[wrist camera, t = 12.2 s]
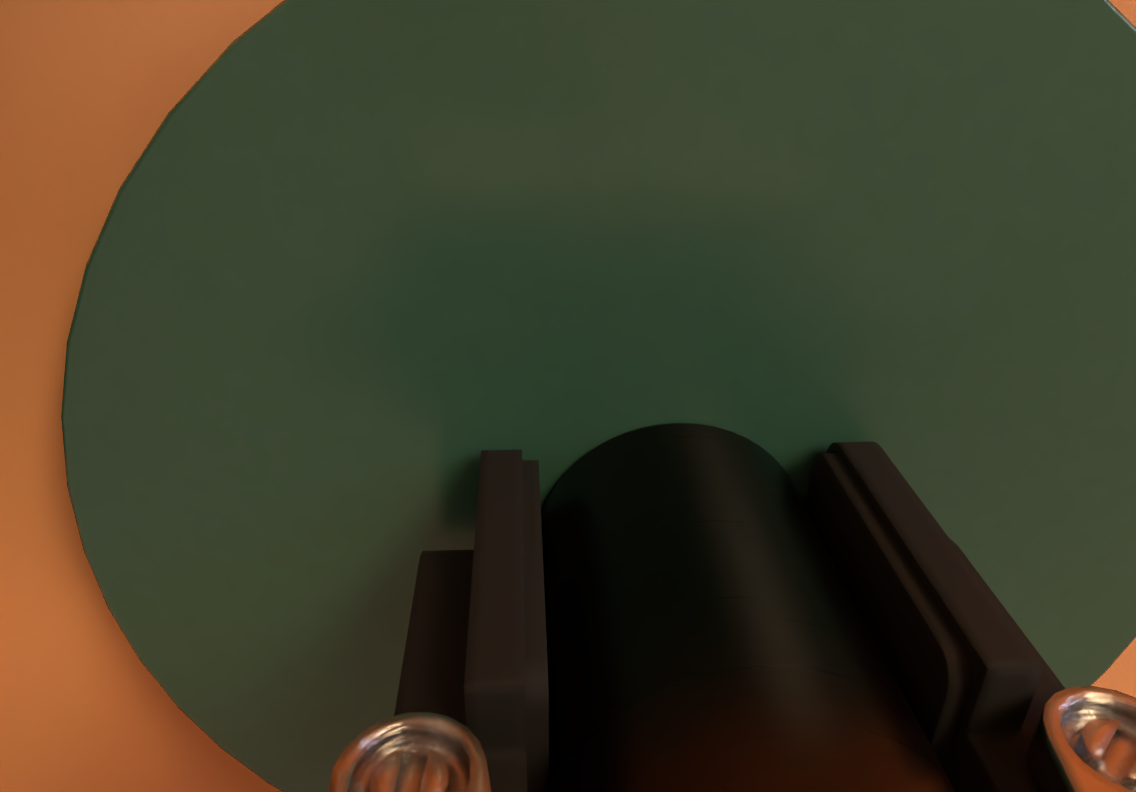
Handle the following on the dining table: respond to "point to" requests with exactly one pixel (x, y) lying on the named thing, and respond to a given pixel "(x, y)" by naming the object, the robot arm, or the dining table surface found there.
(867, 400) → the lid
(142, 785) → the dining table surface
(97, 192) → the dining table surface
